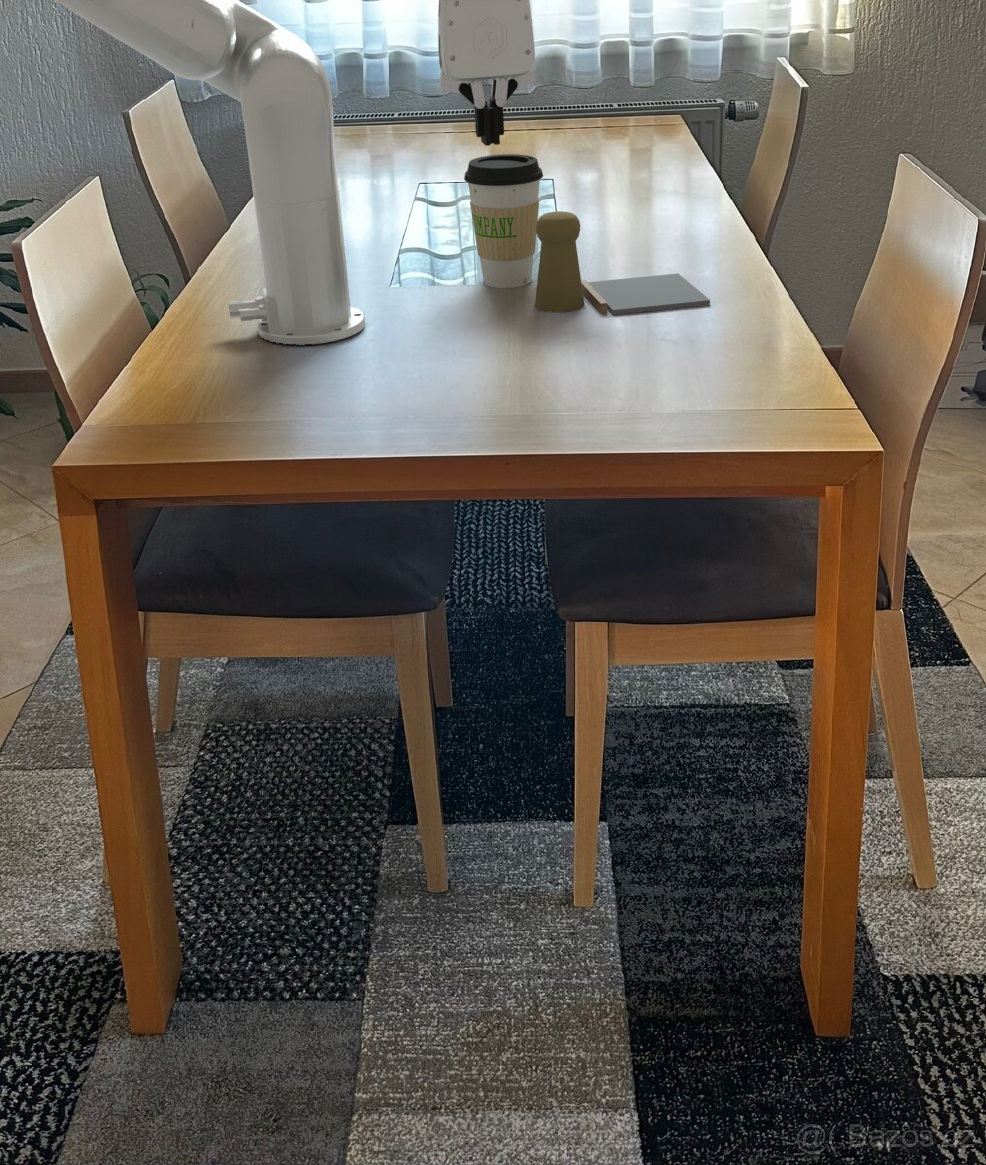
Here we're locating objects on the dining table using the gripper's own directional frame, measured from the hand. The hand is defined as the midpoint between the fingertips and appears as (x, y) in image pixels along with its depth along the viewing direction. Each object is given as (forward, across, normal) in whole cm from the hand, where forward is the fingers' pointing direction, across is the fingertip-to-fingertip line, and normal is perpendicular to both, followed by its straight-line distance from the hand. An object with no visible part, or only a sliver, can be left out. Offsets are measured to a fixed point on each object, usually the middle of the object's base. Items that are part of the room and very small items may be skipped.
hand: (490, 142), depth 146 cm
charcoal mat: (+20, +18, 0) cm, 27 cm away
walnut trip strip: (+20, +12, 0) cm, 23 cm away
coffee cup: (+20, +4, +12) cm, 23 cm away
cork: (+20, +8, 0) cm, 21 cm away
